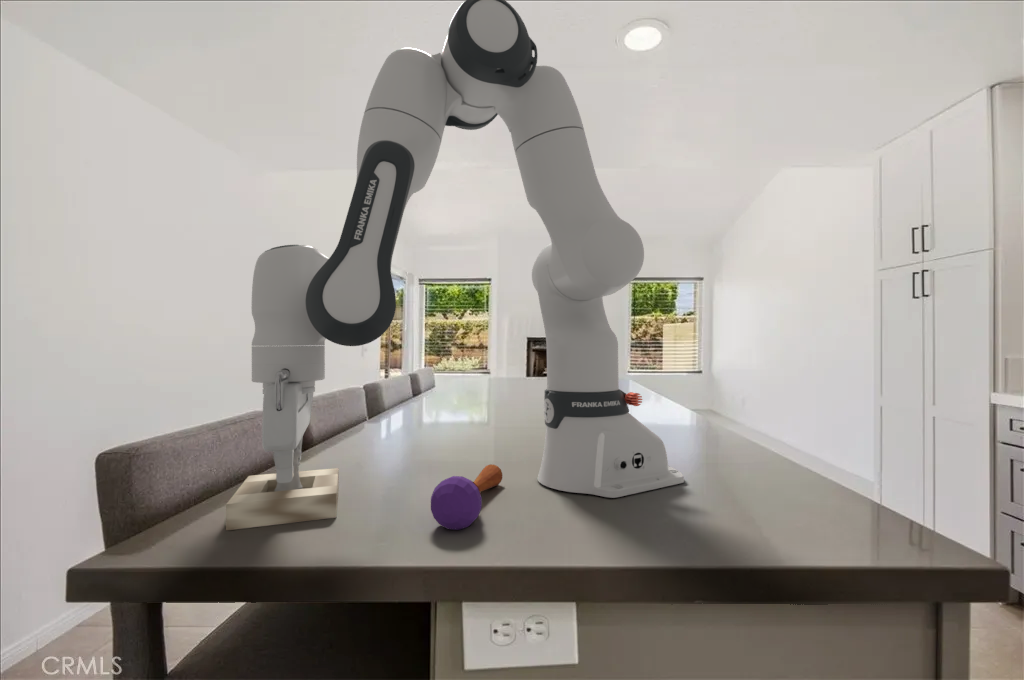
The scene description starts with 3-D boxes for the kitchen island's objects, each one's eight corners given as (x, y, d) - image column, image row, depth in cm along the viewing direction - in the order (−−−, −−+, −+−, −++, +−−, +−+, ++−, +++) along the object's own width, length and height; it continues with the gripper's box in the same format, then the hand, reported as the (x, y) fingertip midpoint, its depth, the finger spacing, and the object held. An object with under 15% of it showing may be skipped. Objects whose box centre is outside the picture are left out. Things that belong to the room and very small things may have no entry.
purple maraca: (514, 460, 72) (477, 489, 52) (506, 499, 72) (467, 543, 52) (477, 451, 73) (428, 476, 54) (469, 490, 73) (417, 528, 53)
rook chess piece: (291, 514, 60) (290, 450, 60) (261, 511, 61) (261, 449, 61) (314, 502, 65) (314, 443, 65) (286, 500, 66) (286, 442, 66)
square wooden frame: (338, 488, 71) (338, 468, 71) (336, 517, 59) (336, 493, 59) (248, 496, 67) (248, 475, 67) (226, 530, 55) (226, 504, 55)
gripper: (308, 370, 54) (309, 491, 54) (319, 364, 74) (319, 453, 74) (246, 372, 52) (247, 497, 52) (274, 365, 72) (274, 457, 72)
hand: (289, 471), depth 63 cm, fingers open, 8 cm apart
